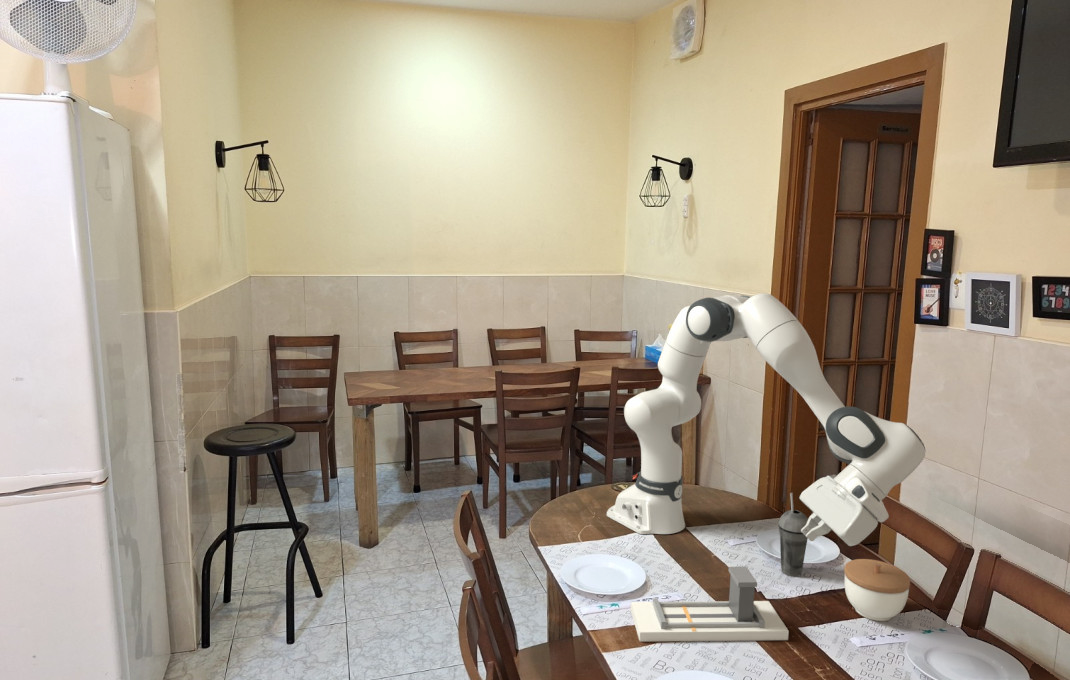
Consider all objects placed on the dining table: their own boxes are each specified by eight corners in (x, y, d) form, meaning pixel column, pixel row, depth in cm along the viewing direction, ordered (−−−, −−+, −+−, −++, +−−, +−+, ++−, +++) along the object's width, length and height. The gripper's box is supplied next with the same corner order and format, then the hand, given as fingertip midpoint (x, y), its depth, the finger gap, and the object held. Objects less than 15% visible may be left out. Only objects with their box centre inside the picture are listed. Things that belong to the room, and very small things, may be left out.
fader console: (639, 641, 133) (640, 625, 133) (630, 610, 144) (631, 595, 144) (788, 640, 134) (789, 624, 134) (768, 609, 145) (768, 594, 144)
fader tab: (736, 623, 136) (738, 582, 134) (726, 606, 142) (728, 566, 141) (754, 623, 136) (757, 582, 134) (744, 605, 142) (746, 566, 141)
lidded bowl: (880, 635, 136) (885, 585, 134) (828, 604, 147) (832, 558, 145) (919, 619, 142) (924, 570, 140) (866, 590, 153) (870, 545, 151)
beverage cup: (810, 581, 157) (816, 500, 153) (777, 578, 158) (782, 498, 155) (804, 566, 164) (809, 489, 160) (773, 563, 165) (778, 486, 162)
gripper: (823, 462, 145) (776, 505, 146) (872, 499, 125) (817, 548, 126) (842, 481, 146) (795, 524, 147) (893, 521, 125) (839, 570, 127)
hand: (805, 536), depth 136 cm, fingers closed
